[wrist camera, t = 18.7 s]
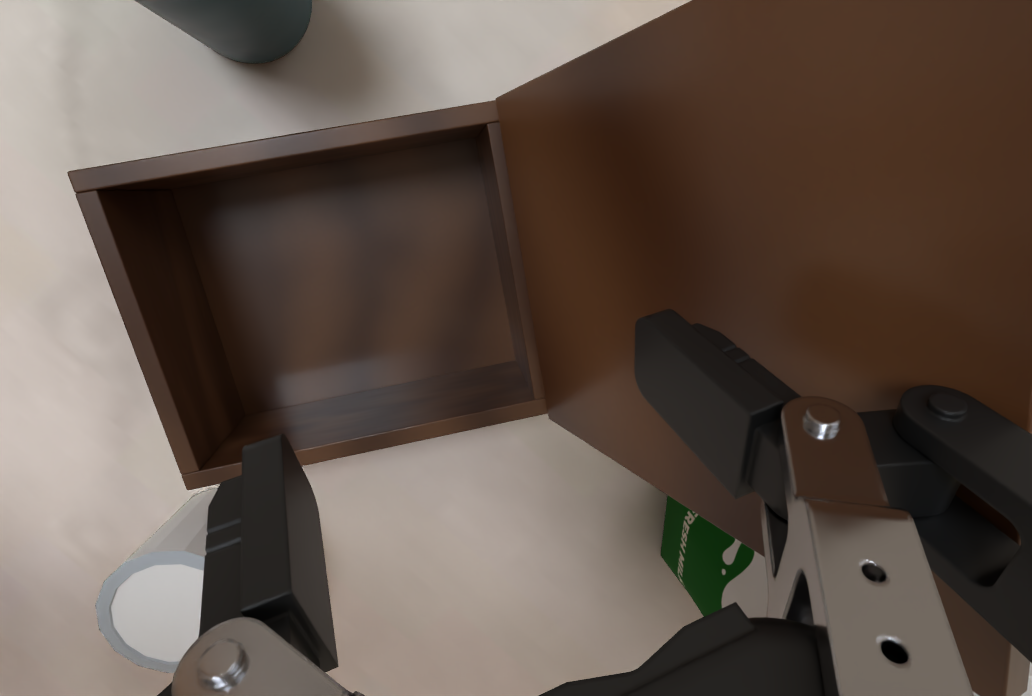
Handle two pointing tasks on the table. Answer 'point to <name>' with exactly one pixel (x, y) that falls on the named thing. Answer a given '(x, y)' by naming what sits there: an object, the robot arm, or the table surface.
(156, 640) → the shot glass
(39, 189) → the table surface
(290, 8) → the can
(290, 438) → the bin
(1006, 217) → the bin lid
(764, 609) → the milk carton
